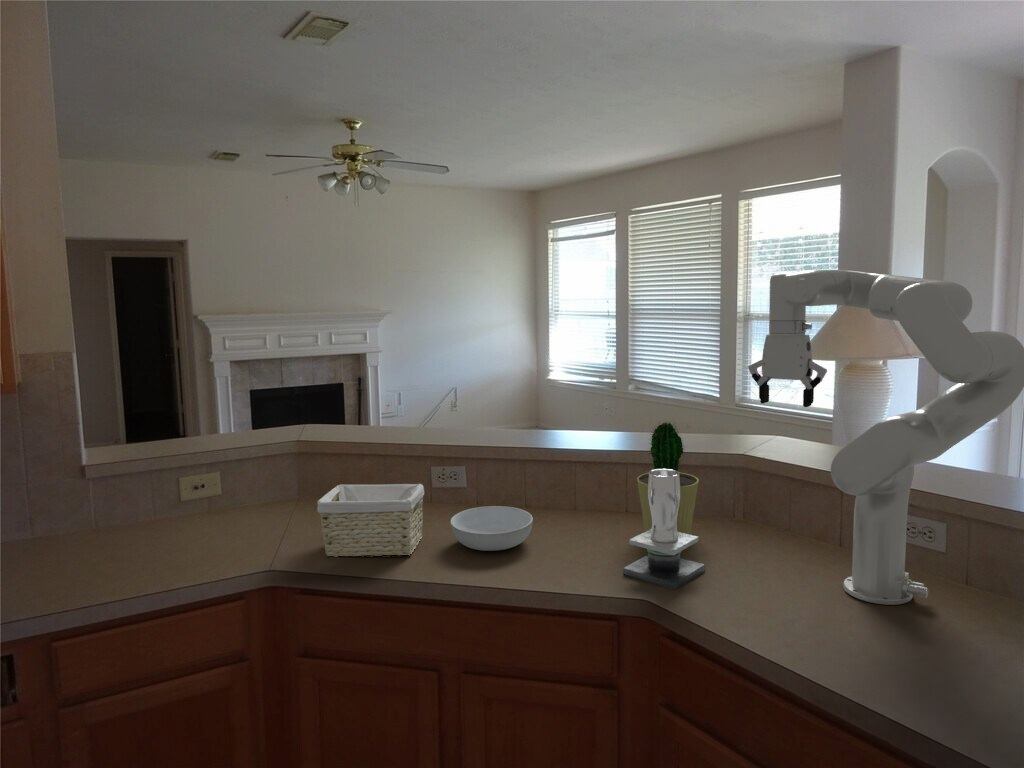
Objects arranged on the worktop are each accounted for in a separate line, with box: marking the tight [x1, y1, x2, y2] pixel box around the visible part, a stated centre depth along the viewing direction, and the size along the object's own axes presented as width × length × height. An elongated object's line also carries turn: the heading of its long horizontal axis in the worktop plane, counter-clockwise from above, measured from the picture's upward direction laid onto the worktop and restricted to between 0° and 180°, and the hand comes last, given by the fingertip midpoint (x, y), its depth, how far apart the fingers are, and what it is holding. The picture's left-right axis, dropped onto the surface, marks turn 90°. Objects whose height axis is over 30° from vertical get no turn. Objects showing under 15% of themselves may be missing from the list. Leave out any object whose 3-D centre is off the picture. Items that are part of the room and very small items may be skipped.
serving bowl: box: [450, 505, 534, 552], centre depth 179 cm, size 21×21×7 cm
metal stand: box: [622, 529, 706, 591], centre depth 158 cm, size 13×13×8 cm
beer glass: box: [648, 469, 680, 543], centre depth 156 cm, size 7×7×15 cm
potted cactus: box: [636, 421, 700, 535], centre depth 181 cm, size 15×15×30 cm
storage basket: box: [317, 483, 425, 556], centre depth 179 cm, size 24×16×15 cm
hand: (785, 404), depth 160 cm, fingers open, 9 cm apart
